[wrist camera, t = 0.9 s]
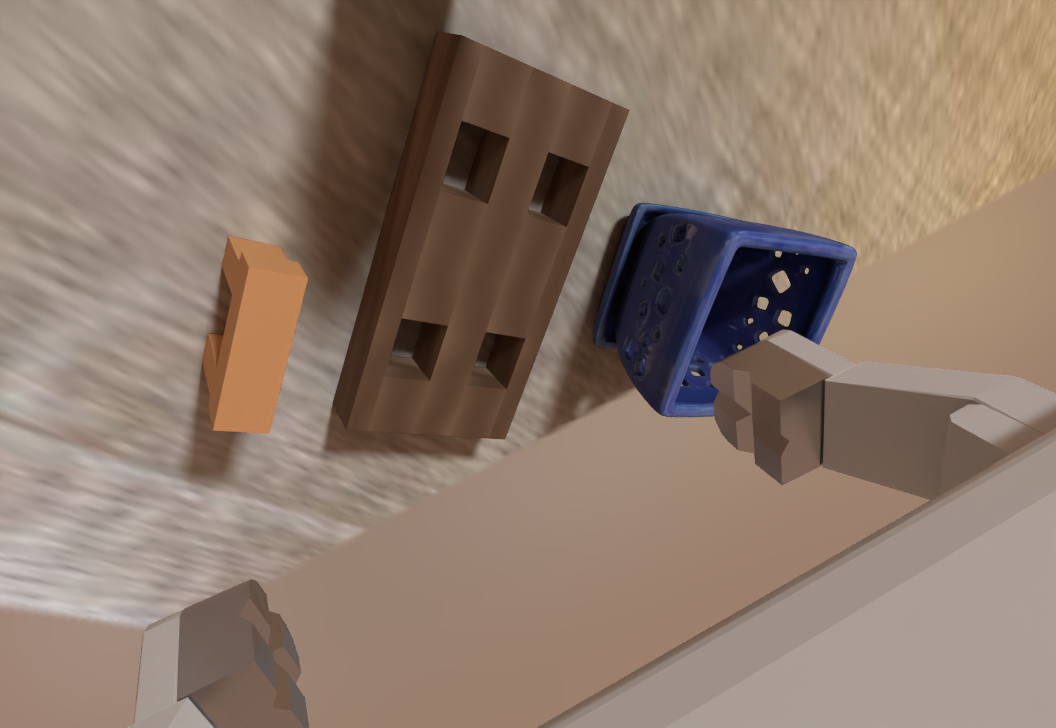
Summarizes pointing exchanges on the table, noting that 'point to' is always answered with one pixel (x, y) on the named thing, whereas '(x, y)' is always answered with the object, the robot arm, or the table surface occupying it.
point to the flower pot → (709, 297)
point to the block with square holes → (474, 245)
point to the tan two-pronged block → (253, 336)
